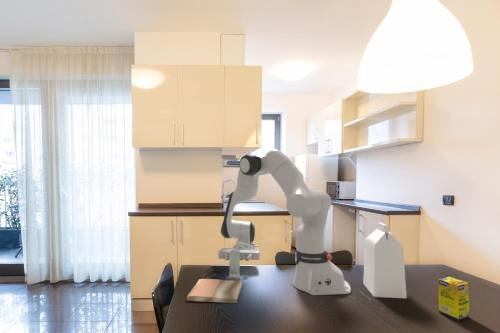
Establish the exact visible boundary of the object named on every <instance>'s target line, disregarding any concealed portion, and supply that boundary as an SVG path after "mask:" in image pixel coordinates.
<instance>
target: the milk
mask: <svg viewBox="0 0 500 333" xmlns="http://www.w3.org/2000/svg"><path fill="white" fill-rule="evenodd" d="M404 258H405V257H404V248H403V246H402V244H401V243H400V242H399V241H398V240H397V239H396V236H395V235H394V234H393V233H392V232H390V231H389V226H388V224H385V223H383V222H377V225H376V229H374V231H372V232H371V233H370V234H368V235H367V236H366V238H365V240H364V254H363V285H364V286H365V288H366V289H367V290H368V291H369V292H370V294H371V295H372V296H373V297H374V298H389V299H390V298H394V299H395V298H396V299H408V298H407V282H406V272H405V271H406V270H405V260H404Z"/></svg>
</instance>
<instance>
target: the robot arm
mask: <svg viewBox="0 0 500 333" xmlns="http://www.w3.org/2000/svg"><path fill="white" fill-rule="evenodd" d="M238 165H239V169H238V173H237V179H236V186H235V187H236V188H235V190H234V191H232V192H230V194H229V197H228V200H227V203H226V204H227V205H226V208H225V213H224V217H223V221H222V223H221V225H220V234H221V236H222V237H223V238H224V239H236V242H235V243H234V245H233V246H232V247H223V248H220V249H219V250H218V252H217V253H218V254H217V255H218V256H217V258H218V259H219V260H225V261H230V251H231V250H238V251H240V261H244V260H245V261H246V262H249V261H251V260H252V261H253V260H254V261H258V260H260V259H261V258H260V257H261V255H260V253H261V252H260V248H259V247H258V246H259V245H257V244H255V243H253V242H254V241H255V238H256V227H255V225H254V224H253V222H251V221H245V220H236V219H235V220H234V219H233V214H234V210H235V207H236V206H237V205H239V204H243V203H247V202H249V201H251V200H253V199H254V198H255V197H256V196H257V194H258V187H259V177H260V176H263V175H264V176H265V175H268V174H270V175H271V177H273V180H274V181H276V183H277V184H278V186H279V187H280V189H281V190H282V192H283V193H284V197H285V199H286V202H285V203H286V204H285V205H286V206H285V207H286V210H287V212H288V214H290V215H291V216H292V217H294V218H297V219H300V223H299V225H298V227H297V229H296V249H295V254H294V255H295V256H294V258H295V261H294V262H295V273H294V277H293V280H292V281H293V282H292V285H293V286H294V288H296V289H298V290H300V291H303V292H305V293H308V294H309V295H311V296H327V295H347V294H350V293H351V292H352V289H351V286H350V284H349V282H347V281H346V280H345V278H344V277H345V276H344V274H343V272H342V270H341V269H340V268H339V267H338V266H336V265H335V264H334V263H333V262H331V261H332V259H333V256H332V254H331V253H329V252H328V251H326V250H325V228H326V224H327V217H328V215H329V214H328V213H329V210H330V209H331V207H332V200H331V199H332V198H331V196H330V195H329V194H328V192H325V191H323V190H319V189H310V188H309V187H308V186H307V184H306V182H305V180H304V174H303V173H302V172H301V171H300V170H299V168H298V167H297V166H296V165H295V163H294V162H293V161H292V160H291V159H290V158H289V157H288V156H287V155H286V154H285V153H283V152H282V151H281V150H279V149H274V148H273V149H272V150H269V151H268V152H253V153H247V154H244V155H242V156H241V158H240V159H239V164H238Z"/></svg>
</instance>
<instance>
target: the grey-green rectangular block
mask: <svg viewBox="0 0 500 333" xmlns="http://www.w3.org/2000/svg"><path fill="white" fill-rule="evenodd" d="M240 262H241V260H240V251H238V250H231V251H230V259H229V279H228V280H233V281H241V280H240V279H241V278H240V277H241V276H240V274H241V273H240V271H241V270H240V269H241V268H240V266H241V265H240V264H241V263H240Z"/></svg>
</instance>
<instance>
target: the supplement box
mask: <svg viewBox="0 0 500 333" xmlns="http://www.w3.org/2000/svg"><path fill="white" fill-rule="evenodd" d="M437 284H438V286H437V287H438V288H437V289H438V313H439V314H441V313H442V315H444V316H446V317H448V318H450V319H452V320H455V321H457V322H459V321H462V320H465V319H469V318H470V297H469V296H470V295H469V283H468V282H467V281H464V280H461V279H457V278H454V277H452V276H447V277H444V278H443V277H442V278H438V283H437ZM468 317H469V318H468Z"/></svg>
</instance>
